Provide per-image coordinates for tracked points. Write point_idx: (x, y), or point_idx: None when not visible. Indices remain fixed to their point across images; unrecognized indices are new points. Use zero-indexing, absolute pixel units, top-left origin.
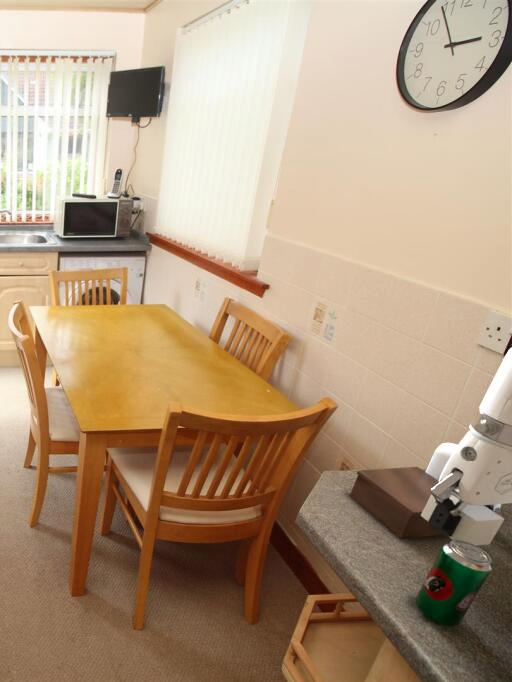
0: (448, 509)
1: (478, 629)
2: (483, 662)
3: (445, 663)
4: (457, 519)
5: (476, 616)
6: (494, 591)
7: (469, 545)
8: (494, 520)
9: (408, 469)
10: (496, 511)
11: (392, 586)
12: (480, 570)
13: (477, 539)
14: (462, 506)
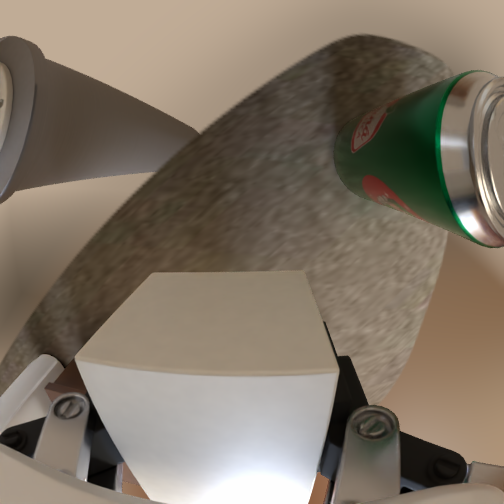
0: (407, 439)
1: (307, 106)
2: (373, 52)
3: (442, 74)
4: (348, 389)
5: (274, 135)
6: (148, 200)
7: (502, 194)
8: (153, 363)
9: (122, 478)
10: (66, 398)
11: (399, 235)
12: None
13: (232, 287)
14: (371, 470)
